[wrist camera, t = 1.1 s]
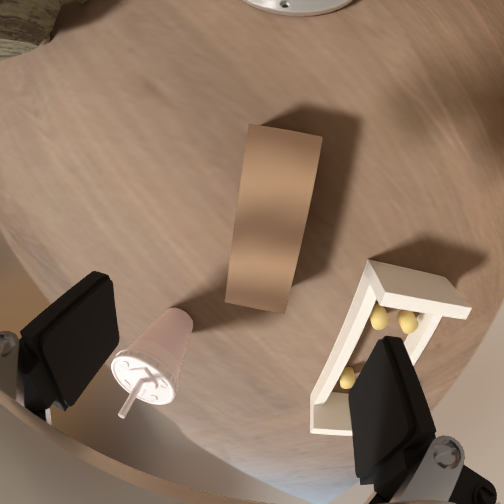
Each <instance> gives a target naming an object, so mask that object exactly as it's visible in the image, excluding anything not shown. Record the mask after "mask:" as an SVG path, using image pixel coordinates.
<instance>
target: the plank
mask: <svg viewBox="0 0 504 504" xmlns="http://www.w3.org/2000/svg"><path fill="white" fill-rule="evenodd" d="M322 140H323V137H321V136H316V135H312V134H307V133H302V132H296V131H291V130H285V129H279V128H273V127H267V126H260V125H253V124H249V127H248V134H247V140H246V147H245V154H244V160H243V167H242V174H241V181H240V188H239V195H238V202H237V209H236V217H235V224H234V232H233V239H232V247H231V254H230V262H229V270H228V278H227V286H226V295H225V302H227V303H231V304H236V305H241V306H246V307H250V308H255V309H260V310H265V311H270V312H276V313H281V314H284V313H285V309H286V305H287V301H288V298H289V294H290V290H291V286H292V281H293V277H294V273H295V269H296V265H297V261H298V256H299V252H300V248H301V243H302V239H303V234H304V230H305V225H306V221H307V216H308V211H309V207H310V202H311V197H312V192H313V187H314V182H315V177H316V172H317V167H318V162H319V156H320V151H321V145H322Z"/></svg>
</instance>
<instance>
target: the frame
mask: <svg viewBox="0 0 504 504" xmlns="http://www.w3.org/2000/svg"><path fill="white" fill-rule="evenodd" d="M376 299H377V301H378V303H376V304H375V301H376ZM384 306H385V307H391V308H397V309H403V310H401V311H400V312H399V314H398V316H397V319H398V321H399V323H400V325H401V328H402V330H403V332H404V333H406V334H408V336H407V338H406V340H405V342H404V345H405V348H406V350H407V352H408V355H409V357H410V359H411V362H412V364H413V366H414V364H415V363H416V361H417V359H418V358H419V356H420V355H421V353H422V351H423V350H424V348H425V346H426V345H427V343H428V341H429V339H430V338H431V336H432V334H433V332H434V331H435V329H436V327H437V325H438V323H439V321H440V320H441V318H442V316H446V317H453V318H460V319H466V318H467V316H468V315H469V313H470V311H471V309H472V308H471V306H470V305H469V304H468V303H467V301H466V300H465V299H464V298H463V297H462V296H461V294H460V293H459V292H458V291H457V290H456V289H455V287H454V286H453V285H452V284H451V283H450V282H449V281H448V280H447V278H446V277H443V276H439V275H435V274H431V273H426V272H422V271H418V270H414V269H409V268H405V267H400V266H396V265H392V264H387V263H383V262H378V261H374V260H370V259H367V262H366V265H365V268H364V271H363V274H362V277H361V280H360V282H359V285H358V288H357V291H356V293H355V296H354V299H353V301H352V304H351V306H350V309H349V311H348V314H347V316H346V319H345V321H344V324H343V326H342V328H341V331H340V333H339V336H338V338H337V340H336V342H335V345H334V347H333V349H332V351H331V354H330V356H329V358H328V360H327V362H326V365H325V367H324V369H323V371H322V373H321V375H320V377H319V379H318V381H317V383H316V385H315V387H314V389H313V391H312V393H311V395H310V433H315V434H328V435H346V436H352V426H351V417H350V409H349V401H348V396H349V394H348V393H337V392H331V391H332V389H333V388H334V386H335V384H336V382H337V380H338V379H339V378H340V386H341V387H342V388H344V389H349V388H352V386H353V385H354V383H355V381H356V380H355V375H354V369H353V368H352V367H345V366H346V364H347V362H348V360H349V358H350V356H351V354H352V352H353V350H354V348H355V346H356V344H357V342H358V339H359V337H360V335H361V333H362V331H363V329H364V327H365V324H366V322H367V320H368V318H370V321H371V324H372V327H373V328H374V329H377V330H380V329H383V328H385V327H386V326H387V325H388V323H389V317H388V315H387V313H386V310H385V308H384ZM412 311H415V312H420V313H419V315H418V317H417V319H416V317H415V316H414V314H413V312H412Z"/></svg>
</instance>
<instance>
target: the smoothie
mask: <svg viewBox="0 0 504 504" xmlns="http://www.w3.org/2000/svg"><path fill="white" fill-rule="evenodd" d="M192 329H193V321H192V319H191V317H190V316H189V315H188V314H187V313H186V312H185V311H183V310H181V309H179V308H168V309H167V310H165V311H164V312H163V313H162V314H161V315H160V316H159V317H158V318H157V319H156V320H155V321H154V322H153V323H152V324H151V325H150V326H149V327H148V328H147V329H146V330H145V331H144V332H143V333H142V334H141V335H140V336H139V337H138V338H137V339H136V340H135V341H134V342H133V343H132V344H131V345H130V346H129V347H128V348H127V349H125V350H122V351H120V352H119V353H117V354H116V357H115V358H114V360H113V361H112V365H111V368H112V372H113V375H114V377H115V379H116V380H117V381H118V383H119V384H120V385H121V386H122V387H123V388H124V389H125V390H126V391H127V392H129V393H130V395H129V397H128V398H127V400H126V402H125V403H124V405H123V407H122V409H121V411H120V412H119V414H118V415H119V416H120V417H121V418H125V416H126V414H127V412H128V411H129V409H130V407H131V405H132V403H133V401H134V400H135V398H138V399H140V400H142V401H145V402H148V403H151V404H159V405H161V404H167V403H170V402H171V401H172V400H173V399H174V397H175V395H176V393H177V392H178V388H179V386H178V382H177V380H178V377H179V374H180V370H181V366H182V363H183V359H184V356H185V352H186V349H187V346H188V342H189V339H190V336H191V332H192Z"/></svg>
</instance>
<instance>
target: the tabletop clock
mask: <svg viewBox="0 0 504 504" xmlns="http://www.w3.org/2000/svg"><path fill="white" fill-rule="evenodd" d="M74 1H78V3H85V2H87V1H88V0H0V61H3V60H6V59H8V58H11V57H14V56H17V55H20V54H22V53H25V52H28V51H31V50H33V49H35V48H37V47H38V46H39V45H40V44H41V45H45V44H47V43H48V42H49V40H50V35H49V33H50V32H51V31H52V29H53V26H54V23H55V21H56V18H57V15H58V13H59V10H60V8H61V5H64V4H67V3H70V2H74Z"/></svg>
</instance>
